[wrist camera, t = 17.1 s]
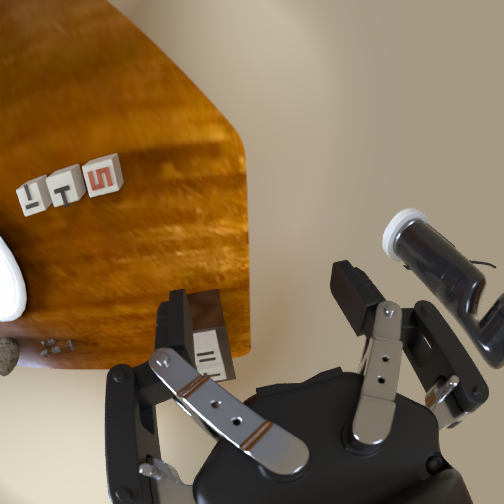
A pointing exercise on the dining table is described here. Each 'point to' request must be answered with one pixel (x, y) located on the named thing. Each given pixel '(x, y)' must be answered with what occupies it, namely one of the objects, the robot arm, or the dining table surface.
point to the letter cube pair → (51, 190)
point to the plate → (10, 285)
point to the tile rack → (211, 323)
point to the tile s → (103, 175)
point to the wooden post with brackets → (56, 349)
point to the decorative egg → (8, 355)
